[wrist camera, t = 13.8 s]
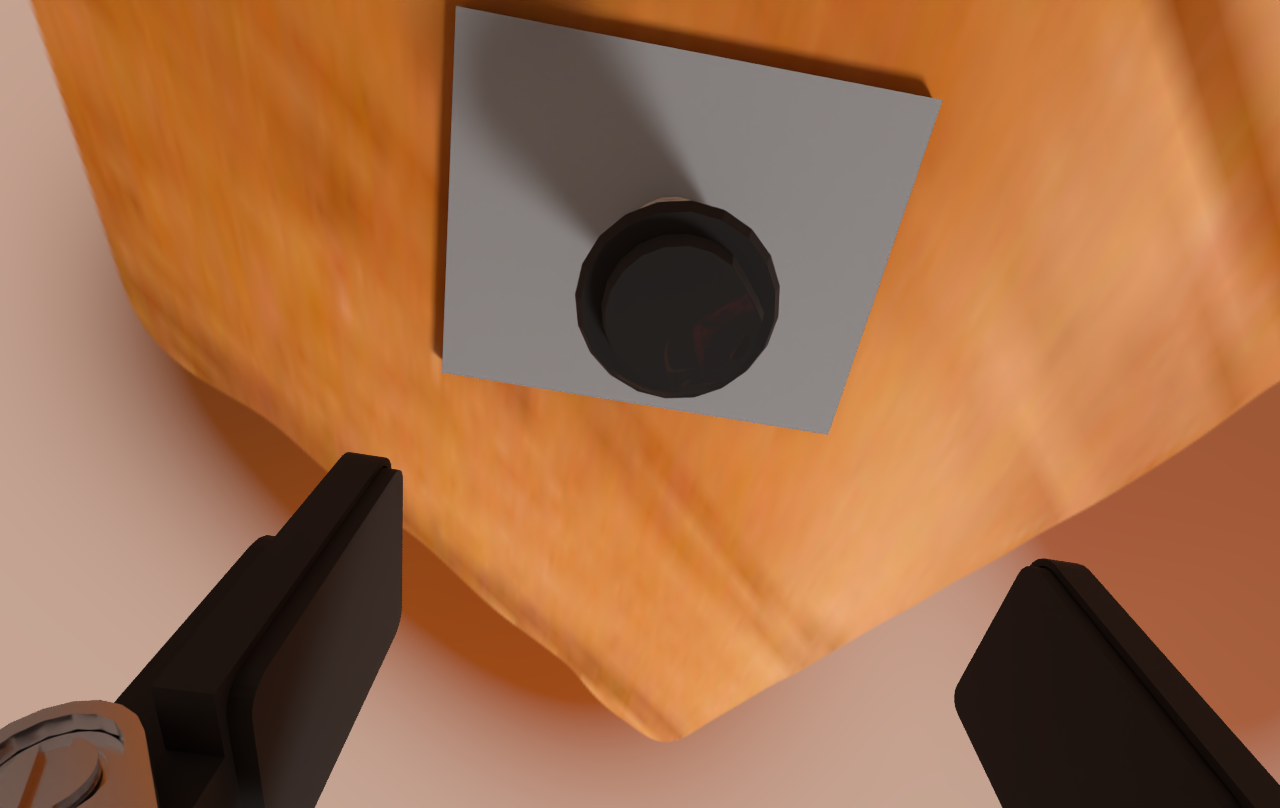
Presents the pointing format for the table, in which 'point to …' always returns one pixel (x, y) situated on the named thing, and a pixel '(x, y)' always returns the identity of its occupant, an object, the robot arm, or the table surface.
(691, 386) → the coffee cup
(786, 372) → the desk mat
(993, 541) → the table surface
